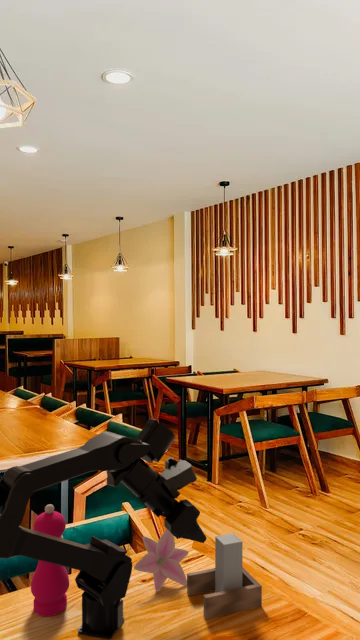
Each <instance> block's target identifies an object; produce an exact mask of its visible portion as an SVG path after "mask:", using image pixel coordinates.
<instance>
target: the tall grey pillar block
mask: <svg viewBox="0 0 360 640" xmlns="http://www.w3.org/2000/svg"><path fill="white" fill-rule="evenodd" d="M214 539H215V542H214V547H215V549H214V550H215V551H214V552H215V553H214V555H215V556H214V557H215V559H214V560H215V561H214V562H215V564H214V565H215V567H214V568H215V590H214V593H217V592H221V591H226V590H231V589H235V588H240V587H242V567H243V540H242V539H240V538H239V537H238V536H237V535H236V534H235V533H232V532H231V533H226V534H221V535H215V538H214Z"/></svg>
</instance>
